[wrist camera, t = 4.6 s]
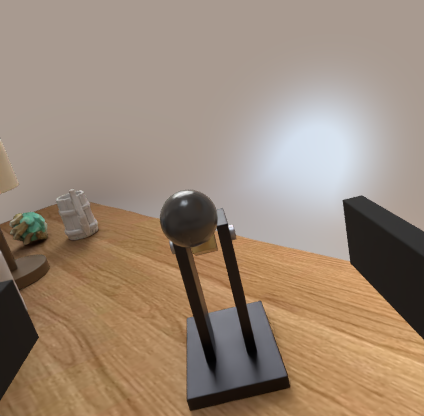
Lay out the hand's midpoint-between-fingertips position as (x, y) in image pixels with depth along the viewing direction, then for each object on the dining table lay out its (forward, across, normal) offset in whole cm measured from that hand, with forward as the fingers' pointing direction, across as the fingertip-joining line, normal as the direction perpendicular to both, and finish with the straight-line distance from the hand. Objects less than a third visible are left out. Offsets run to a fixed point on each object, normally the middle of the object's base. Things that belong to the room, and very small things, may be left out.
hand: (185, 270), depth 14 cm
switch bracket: (+18, 0, -19) cm, 27 cm away
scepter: (+81, -50, -19) cm, 97 cm away
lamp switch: (+12, 0, -5) cm, 13 cm away
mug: (+69, -29, -19) cm, 77 cm away
